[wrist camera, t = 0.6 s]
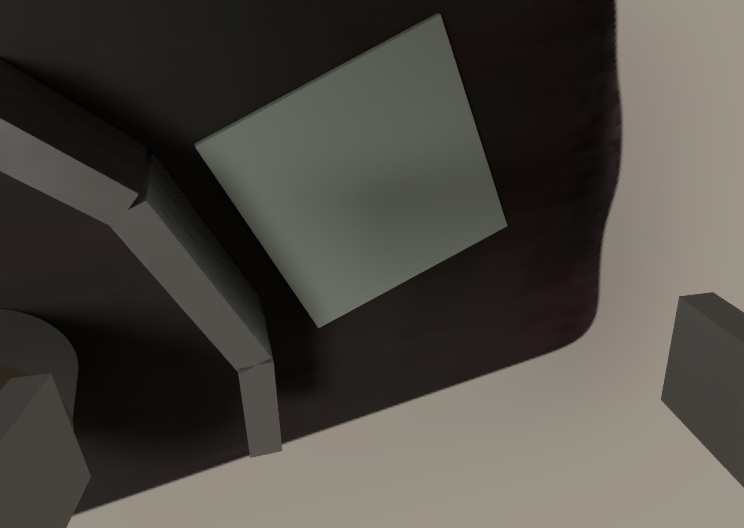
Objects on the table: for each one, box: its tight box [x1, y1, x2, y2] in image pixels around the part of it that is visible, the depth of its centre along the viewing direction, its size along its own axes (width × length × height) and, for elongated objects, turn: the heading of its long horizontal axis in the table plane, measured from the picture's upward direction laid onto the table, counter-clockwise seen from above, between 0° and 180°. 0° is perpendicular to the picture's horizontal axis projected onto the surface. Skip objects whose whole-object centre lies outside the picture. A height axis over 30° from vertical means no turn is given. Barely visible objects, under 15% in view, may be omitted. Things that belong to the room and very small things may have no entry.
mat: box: [195, 13, 507, 328], centre depth 27 cm, size 12×12×1 cm
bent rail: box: [0, 59, 282, 458], centre depth 24 cm, size 20×4×5 cm, turn 23°
